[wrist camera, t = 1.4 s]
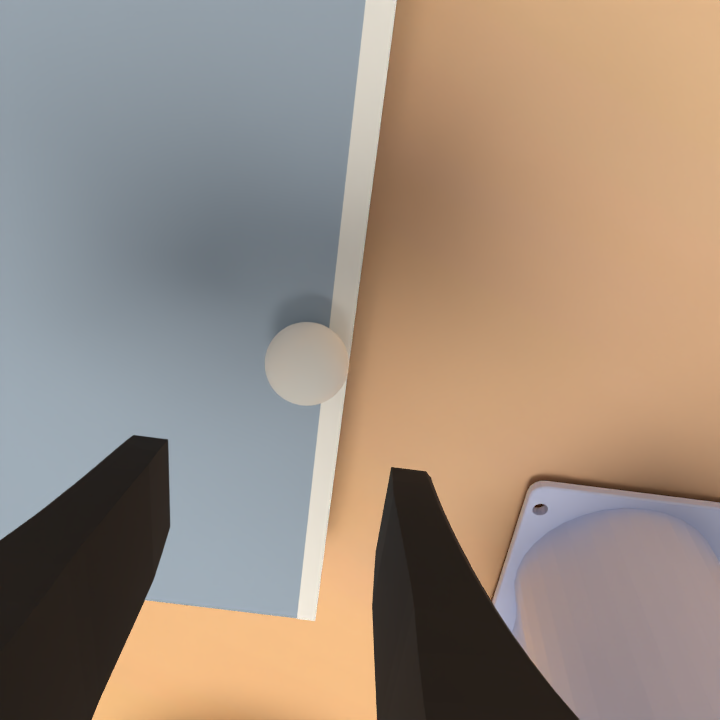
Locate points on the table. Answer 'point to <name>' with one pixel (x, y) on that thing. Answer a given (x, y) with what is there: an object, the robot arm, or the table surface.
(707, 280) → the table surface
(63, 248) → the lid
